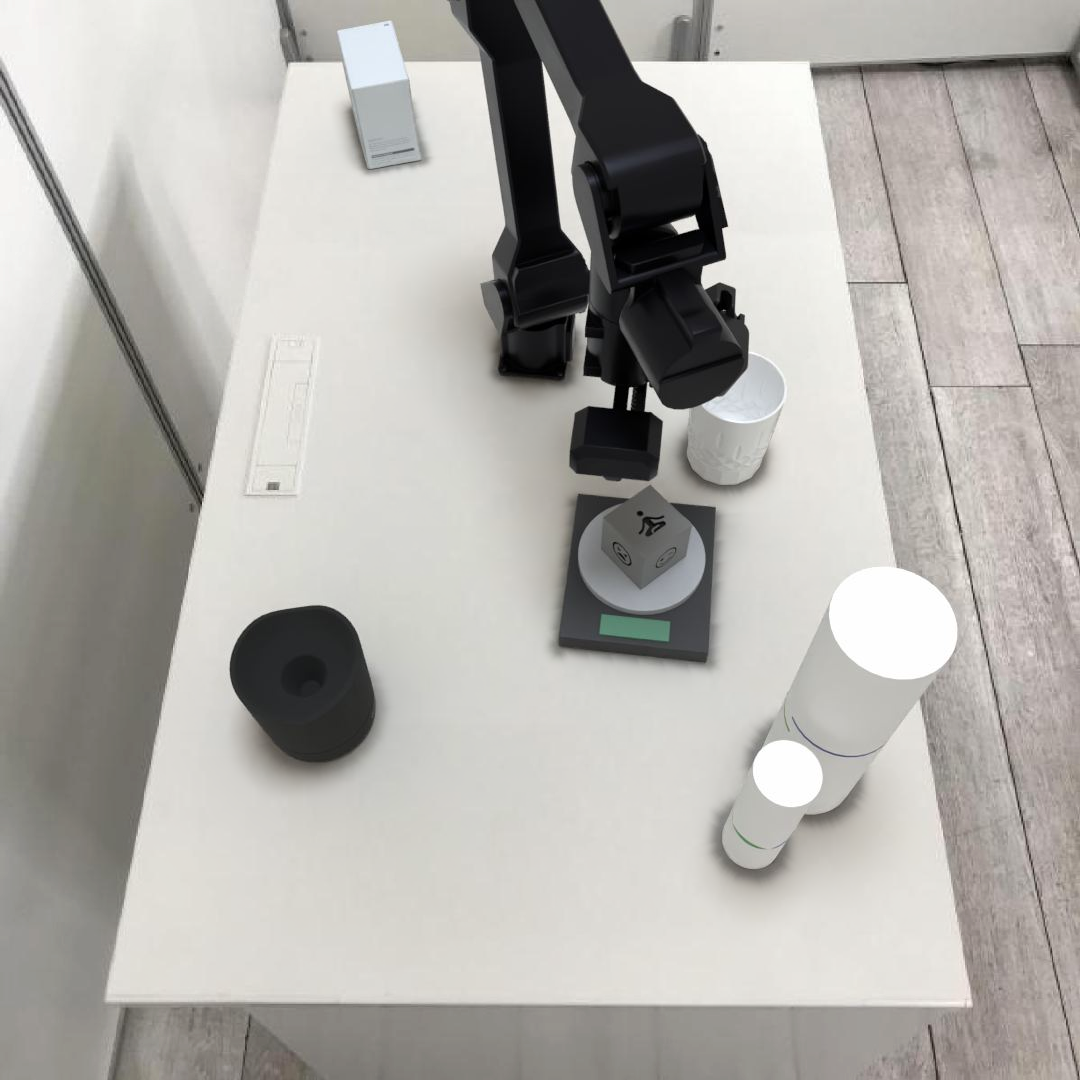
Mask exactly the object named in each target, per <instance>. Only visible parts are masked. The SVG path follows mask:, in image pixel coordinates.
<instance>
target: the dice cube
mask: <svg viewBox="0 0 1080 1080" xmlns="http://www.w3.org/2000/svg"><path fill="white" fill-rule="evenodd" d="M670 503H671V502H670ZM670 503H669V501H668V500H667V499H666V498H665V497H664V496H663V495H662V494H661V493H659V491H658V490H657V489H656V488H655V487H654V486H652V485H651V484H649V485H647V486H645V487H644V488H642V489H641V490H640V491H638V492H637V493H635V494H634V495H632V496H631V497H630V498H629V500H627V501H626V502H624V503H623V504H621V505H620V506H619V507H617V508H616V509H614V510H613V511H611V512H610V513H609V514H607V515H606V516H604V517H603V527H602V543H601V550H602V551H603V552H604V553H605V554H606V555H607V556H608V557H609V558H610V559H611V560H612V561H613V562H614V563H615V564H616V565H617V566H618V567H619V568H620V569H621V570H622V571H623V572H624V573H625V574H626V575H627V576H628V578H629V579H630V580H631V581H632V582H633V583H634V584H635V585H636V586H637V587H638V588H639V589H640V590H642V589H643V588H644V587H646V586H647V585H648V584H650V583H651V582H652V581H654V580H655V579H656V578H658V577H659V576H660V575H662V574H663V573H664V572H666V571H667V570H669V569H670V568H671V567H673V566H674V565H675V564H677V563H678V562H679V561H681V560H682V559H683V558H685V557H686V553H687V549H688V544H689V539H690V534H691V529H692V524H691V523H690V522H689V521H688V520H687V519H686V518H685V517H684V516H683V515H681V514H680V513H679V512H678V511H677V510H676V509H675V508H674V507H673V506H672V505H671V504H670Z"/></svg>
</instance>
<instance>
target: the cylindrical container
mask: <svg viewBox="0 0 1080 1080" xmlns="http://www.w3.org/2000/svg"><path fill="white" fill-rule="evenodd" d="M957 640H958V624H957V619H956V615H955V613H954V610H953V608H952V605H951V604H950V602H949V601H948V600H947V598H946V597H945V595H944V594H943V593H942V592H941V591H940V590H939V588H937V587H936V586H935V585H934V584H932V583H931V582H930V581H928V580H927V578H925V577H923V576H920V575H918V574H917V573H914V572H913V571H912V572H911V571H909V570H906V569H903V568H900V567H899V568H898V567H893V566H873V567H868V568H864V569H861V570H859V571H856V572H854V573H852V574H851V575H848V577H846V578H845V579H844V580H843V581H842V582H841V583H840V584H839V585H838V587H836V590H835V591H834V592H833V594H832V597H831V599H830V601H829V603H828V605H827V608H826V609H825V612H824V613H823V616H822V618H821V620H820V623H819V625H818V627H817V629H816V631H815V633H814V636H813V637H812V639H811V641H810V644H809V646H808V648H807V651H806V652H805V655H804V656H803V659H802V661H801V663H800V666H799V667H798V669H797V671H796V674H795V675H794V679H793V681H792V682H791V684H790V687H789V689H788V691H787V693H786V695H785V698H784V700H783V702H782V703H781V706H780V708H779V710H778V712H777V714H776V717H775V718H774V721H773V723H772V725H771V727H770V729H769V732H768V734H767V736H766V738H765V739H764V742H763V744H762V747H761V749H762V748H763V747H765V746H766V745H768V744H769V743H772V742H775V741H780V740H788V741H794V742H796V743H799V744H801V745H803V746H805V747H806V748H808V749H809V750H810V751H811V752H812V753H813V754H814V755H815V757H816V758H817V760H818V761H819V763H820V766H821V769H822V775H823V779H822V785H821V789H820V791H819V792H818V794H817V796H816V797H815V799H814V800H813V802H812V803H811V805H810V806H809V808H808V810H807V811H806V813H805V814H804V815H820V814H824V813H825V814H826V813H827V812H829V811H832V810H834V809H835V808H837V807H838V806H840V805H841V804H842V803H843V802H844V800H845V799H847V797H848V795H849V794H850V793H851V792H852V790H853V789H854V787H855V786H856V785H857V783H858V782H859V781H860V779H861V778H862V777H863V776H864V774H865V772H867V770H868V768H869V767H870V765H872V764H873V762H874V761H875V759H876V758H877V756H878V755H879V754H880V753H881V751H882V750H883V748H884V747H885V746H886V745H887V743H888V742H889V740H890V739H891V737H892V736H893V735H894V734H895V732H896V731H897V730H898V728H899V727H900V726H901V724H902V723H903V721H904V720H905V719H906V717H907V716H908V714H909V713H910V712H911V710H912V709H913V708H914V707H915V705H916V704H917V702H919V699H921V697H922V696H923V695H924V693H925V692H926V691H927V689H928V687H929V686H930V685H931V684H932V683H933V681H934V680H935V679H936V677H937V676H938V674H939V673H940V671H941V670H942V669H943V668H944V666H945V665H946V664H947V662H948V661H949V659H950V658H951V656H952V654H953V653H954V651H955V649H956V645H957Z"/></svg>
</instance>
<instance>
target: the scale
mask: <svg viewBox="0 0 1080 1080" xmlns="http://www.w3.org/2000/svg"><path fill="white" fill-rule="evenodd" d="M576 497H577V498H576V504H575V512H574V513H575V514H574V521H573V528H572V536H571V542H570V543H571V544H570V551H569V559H568V565H567V574H566V580H565V587H564V594H563V595H564V596H563V603H562V611H561V619H560V626H559V633H558V646H559V647H565V648H574V649H582V650H592V651H600V652H601V651H602V652H609V653H620V654H628V655H636V656H646V657H654V658H664V659H673V660H682V661H683V660H684V661H691V662H701V663H706V662H707V659H708V655H709V650H710V649H709V648H710V647H709V646H710V629H711V627H710V625H711V610H712V609H711V606H712V589H713V570H714V569H713V568H714V550H715V549H714V547H715V546H714V545H715V529H716V512H717V511H716V510H717V507H716V506H711V505H698V504H689V503H678V502H671V501H670V502H669V501H668V502H669V503H670V504H671V505H672V506H673V507H674V508H675V509H676V510H677V511H678V512H679V513H680V514H681V515H683V516H684V517H685V518H686V519H687V520H688V521H689V522H690V523H691V524H692V529H691V534H690V539H689V544H688V549H687V553H686V557H685V558H683V559H682V560H681V561H679V562H678V563H677V564H675V565H674V566H673V567H671V568H670V569H669V570H667V571H666V572H664V573H663V574H662V575H660V576H659V577H658V578H656V579H655V580H654V581H652V582H651V583H650V584H648V585H647V586H646V587H644V588H643V589H642V590H640V589H639V588H638V587H637V586H636V585H635V584H634V583H633V582H632V581H631V580H630V579H629V578H628V576H627V575H626V574H625V573H624V572H623V571H622V570H621V569H620V568H619V567H618V566H617V565H616V564H615V563H614V562H613V561H612V560H611V559H610V558H609V557H608V556H607V555H606V554H605V553H604V552H603V551H602V550H601V543H602V527H603V517H604V516H606V515H607V514H609V513H610V512H611V511H613V510H614V509H616V508H617V507H619V506H620V505H621V504H623V503H624V502H626V501H627V500H629V499H630V498H629V497H619V496H618V497H617V496H607V495H598V494H587V493H577V496H576Z"/></svg>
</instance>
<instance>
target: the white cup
mask: <svg viewBox="0 0 1080 1080" xmlns="http://www.w3.org/2000/svg"><path fill="white" fill-rule="evenodd" d="M787 396H788V383H787V380H786V377H785V375H784V374H783V372H782V370H781V369H780V367H779V366H777V364H776V363H774V362H773V361H772V360H771V359H769V358H768V357H766V356H764V355H762V354H760V353H757V352H754V351H750V350H749V353H748V367H747V370H746V371H745V372H744V373H743V374H742V375H741V377H740V378H739V379H738V380H737V381H736V382H735V384H734V385H733V386H732V387H731V388H730V389H729V391H728V392H727V393H726V394H725V395H724V396H721V397H716V398H714V399H712V400H711V401H709V402H706V403H704V404H702V405H700V406H697V407H694V408H689V410H688V418H687V419H688V420H687V421H688V422H687V437H688V438H687V449H686V458H687V459H688V463H689V464H690V467H691V469H692V470H693V471H694V472H695V473H696V474H697V475H698V476H699V477H700V478H702V480H704V481H707V482H710V483H713V484H716V485H718V486H729V485H731V486H734V485H735V486H737V485H738V484H741V483H743V482H746V481H747V480H749V479H751V478H752V477H753V476H754V475H755V473H756V472H757V471H758V470H759V468H760V467H761V464H762V461H763V459H764V456H765V454H766V453H767V450H768V448H769V446H770V442H771V440H772V438H773V436H774V433H775V431H776V427H777V425H778V422H779V419H780V417H781V413H782V411H783V408H784V406H785V403H786V401H787Z"/></svg>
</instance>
